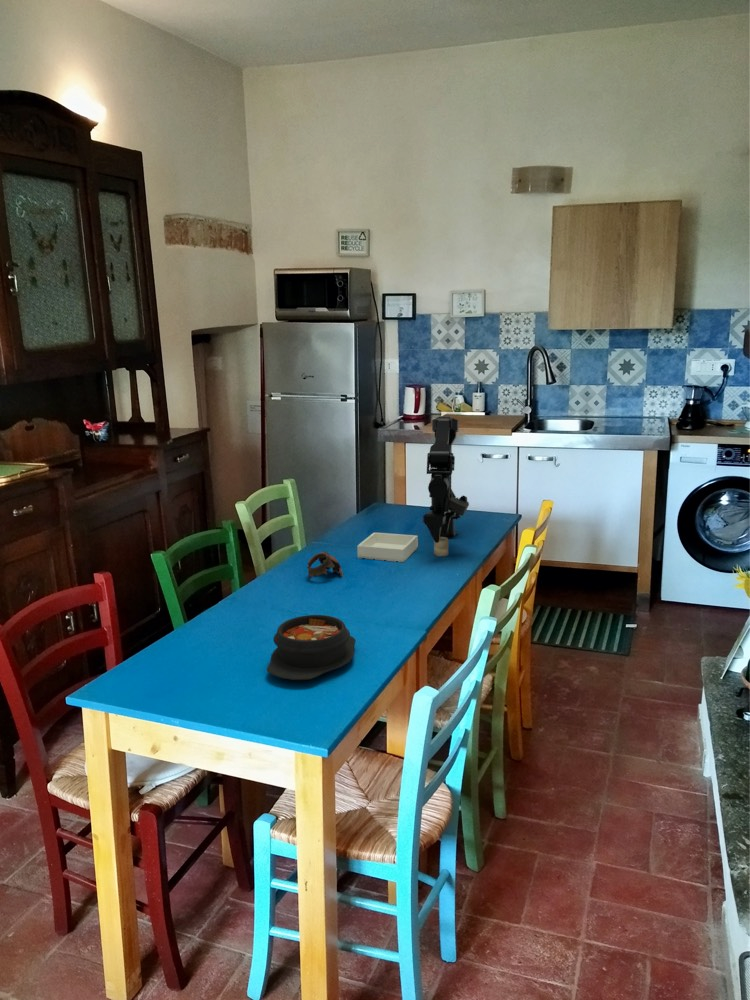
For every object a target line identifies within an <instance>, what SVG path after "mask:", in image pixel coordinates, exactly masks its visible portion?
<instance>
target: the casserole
mask: <svg viewBox="0 0 750 1000" xmlns="http://www.w3.org/2000/svg"><path fill="white" fill-rule="evenodd" d="M272 638H273V641H272V642H273V643H274V645H275V646H276V648H275V649H274V650H273V652H272V653H271V655H270V661H269V664H268V666H267V667H266V672H267V673H268V674H269V675H272V676H274V677H276V678H279V679H285V680H289V681H290V680H291V681H310V680H312V679H315V678H318V677H320V676H321V675H323V674H326V673H328V672H332V671H334V670H336V669H339V668H341V667H343V666H345V665H347V664H348V663H350V662H351V661H352V659H353V658H354V656H355V644H356V639H355V637H353V636H351V632H350V630H349V629H348V628H347V627H346V624H345V623H344V621H343V620H341V619H339V618H337V617H335V616H332V615H331V616H330V615H324V614H307V615H306V614H305V615H301V616H297V617H292V618H290V619H287V620H285V621H283V622H282V623H281V624H280V625H278V627H277V630H276V633H275V634H274V636H273V637H272Z"/></svg>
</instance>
